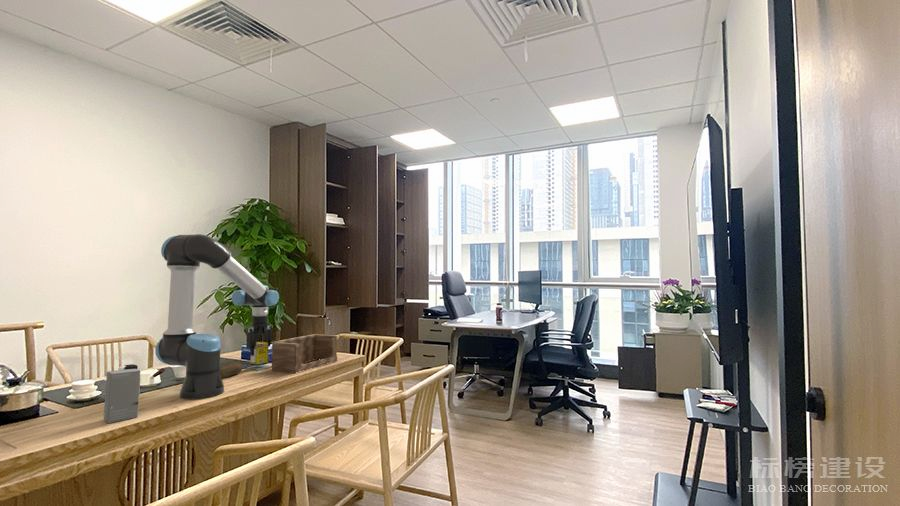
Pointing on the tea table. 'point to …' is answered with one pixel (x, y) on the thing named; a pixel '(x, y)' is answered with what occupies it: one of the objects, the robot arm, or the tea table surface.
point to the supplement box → (261, 353)
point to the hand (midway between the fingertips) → (259, 360)
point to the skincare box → (121, 395)
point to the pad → (259, 367)
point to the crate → (303, 352)
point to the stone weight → (230, 369)
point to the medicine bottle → (129, 368)
